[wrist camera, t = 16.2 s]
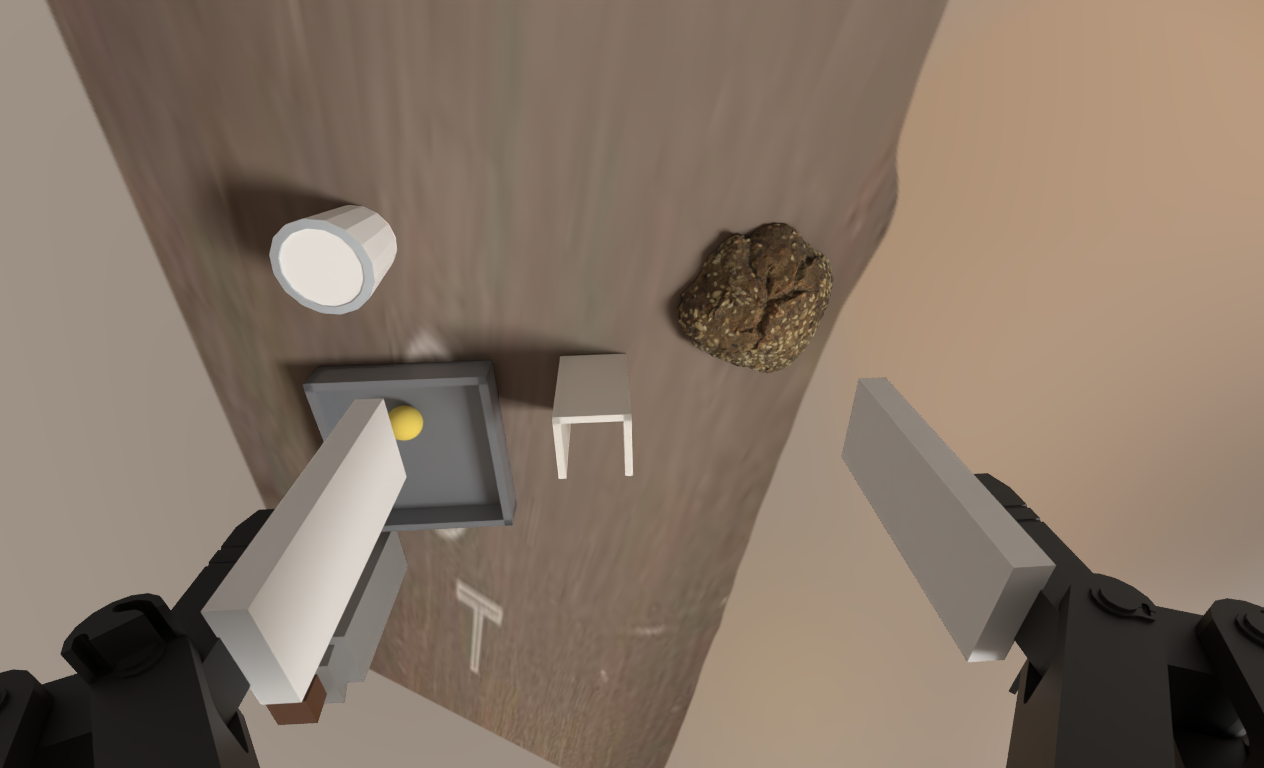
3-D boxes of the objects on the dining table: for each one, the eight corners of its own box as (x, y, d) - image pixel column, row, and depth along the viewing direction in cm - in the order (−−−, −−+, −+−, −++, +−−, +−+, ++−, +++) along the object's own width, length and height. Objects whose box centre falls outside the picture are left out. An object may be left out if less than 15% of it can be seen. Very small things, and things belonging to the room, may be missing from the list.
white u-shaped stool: (560, 356, 50) (551, 417, 41) (625, 353, 50) (631, 414, 41) (565, 411, 53) (558, 478, 44) (627, 408, 53) (632, 475, 44)
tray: (317, 367, 49) (301, 384, 46) (492, 360, 50) (486, 376, 47) (369, 512, 58) (358, 532, 55) (516, 504, 59) (512, 525, 56)
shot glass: (357, 295, 46) (320, 331, 40) (295, 223, 43) (245, 249, 37) (422, 257, 45) (395, 288, 38) (364, 179, 41) (324, 199, 35)
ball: (388, 446, 50) (395, 416, 52) (423, 446, 50) (429, 416, 52) (376, 430, 48) (384, 398, 49) (414, 430, 48) (421, 399, 50)
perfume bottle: (394, 523, 59) (321, 687, 44) (407, 566, 62) (344, 732, 47) (330, 526, 59) (234, 691, 43) (347, 569, 62) (264, 737, 47)
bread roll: (770, 379, 53) (785, 407, 48) (660, 325, 49) (666, 350, 45) (858, 265, 47) (883, 285, 43) (741, 195, 44) (756, 209, 39)
